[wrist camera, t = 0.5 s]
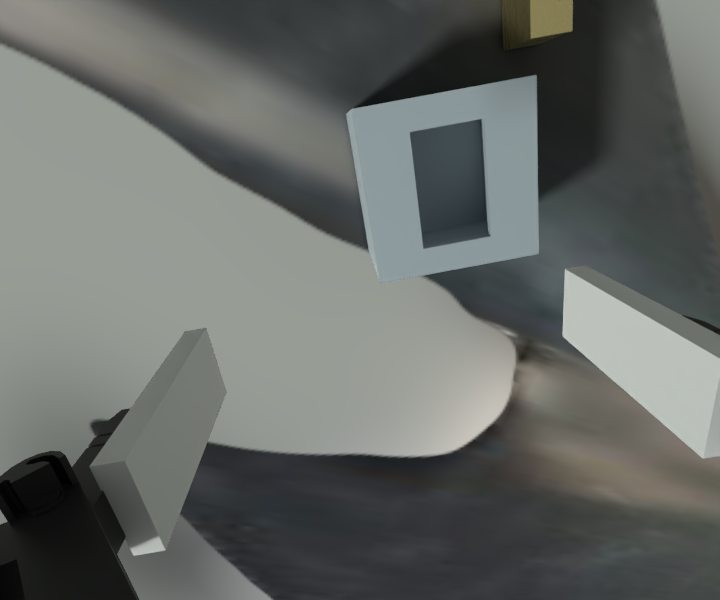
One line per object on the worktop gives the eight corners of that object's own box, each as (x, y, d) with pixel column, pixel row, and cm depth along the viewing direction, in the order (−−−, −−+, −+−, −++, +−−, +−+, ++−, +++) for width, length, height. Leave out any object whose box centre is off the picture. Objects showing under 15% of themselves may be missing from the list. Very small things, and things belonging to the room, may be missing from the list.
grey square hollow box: (345, 114, 35) (351, 108, 27) (487, 87, 35) (536, 74, 27) (369, 251, 40) (380, 283, 32) (494, 228, 40) (538, 253, 32)
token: (500, -23, 33) (529, -48, 28) (539, -30, 33) (573, -56, 28) (503, 50, 35) (530, 38, 30) (539, 44, 35) (572, 31, 30)
